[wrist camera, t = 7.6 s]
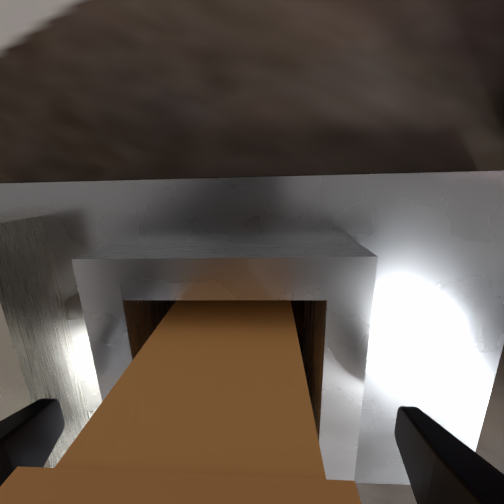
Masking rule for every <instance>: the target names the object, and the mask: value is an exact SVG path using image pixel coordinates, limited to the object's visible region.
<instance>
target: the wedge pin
mask: <svg viewBox="0 0 504 504" xmlns="http://www.w3.org/2000/svg"><path fill="white" fill-rule="evenodd" d="M0 504H361V501H360V498H359V494H358V491H357V488H356V484H355V481H350V480H327V479H326V475H325V470H324V465H323V460H322V455H321V450H320V445H319V440H318V435H317V430H316V425H315V420H314V415H313V410H312V405H311V400H310V395H309V390H308V385H307V380H306V375H305V370H304V365H303V360H302V355H301V350H300V345H299V340H298V335H297V330H296V325H295V320H294V315H293V310H292V305H291V300H176V301H175V303H174V304H173V305H172V307H171V308H170V310H169V311H168V312H167V314H166V315H165V316H164V318H163V319H162V321H161V322H160V323H159V325H158V326H157V327H156V329H155V330H154V332H153V333H152V334H151V336H150V337H149V338H148V340H147V341H146V343H145V344H144V345H143V347H142V348H141V349H140V351H139V352H138V353H137V355H136V356H135V358H134V359H133V360H132V362H131V363H130V364H129V366H128V367H127V369H126V370H125V371H124V373H123V374H122V375H121V377H120V378H119V380H118V381H117V382H116V384H115V385H114V386H113V388H112V389H111V391H110V392H109V393H108V395H107V396H106V397H105V399H104V400H103V402H102V403H101V404H100V406H99V407H98V408H97V410H96V411H95V413H94V414H93V415H92V417H91V418H90V419H89V421H88V422H87V424H86V425H85V426H84V428H83V429H82V430H81V432H80V433H79V435H78V436H77V437H76V439H75V440H74V441H73V443H72V444H71V445H70V447H69V448H68V450H67V451H66V452H65V454H64V455H63V456H62V458H61V459H60V461H59V462H58V463H57V465H56V466H55V467H54V468H42V467H19V466H17V468H16V469H15V470H14V471H13V472H12V473H11V475H10V476H9V477H8V478H7V479H6V480H5V482H4V483H3V484H2V485H1V486H0Z"/></svg>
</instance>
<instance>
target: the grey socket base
mask: <svg viewBox="0 0 504 504" xmlns="http://www.w3.org/2000/svg"><path fill="white" fill-rule="evenodd" d="M176 300H304V321H303V353H302V360H303V365H304V370H305V375H306V380H307V385H308V390H309V395H310V400H311V405H312V410H313V415H314V420H315V425H316V430H317V435H318V440H319V445H320V450H321V455H322V460H323V465H324V470H325V475H326V479H327V480H350V481H355V483H379V484H406V485H411V484H410V481H409V478H408V475H407V473H406V470H405V467H404V464H403V461H402V458H401V455H400V452H399V449H398V446H397V444H396V440H395V435H394V429H395V423H396V416H397V410H398V408H399V407H400V406H415V407H417V408H419V409H421V410H422V411H423V412H424V413H426V414H427V415H428V416H430V417H431V418H432V419H433V420H435V421H436V422H437V423H438V424H440V425H441V426H442V427H444V428H445V429H446V430H447V431H449V432H450V433H451V434H453V435H454V436H455V437H456V438H458V439H459V440H460V441H462V442H463V443H464V444H465V445H467V446H468V447H469V448H470V449H472V450H473V451H474V452H475V451H476V447H477V443H478V439H479V436H480V432H481V428H482V424H483V420H484V417H485V413H486V409H487V405H488V401H489V398H490V394H491V390H492V386H493V383H494V379H495V375H496V371H497V367H498V364H499V360H500V356H501V352H502V348H503V345H504V171H474V172H434V173H395V174H355V175H316V176H276V177H236V178H197V179H157V180H118V181H78V182H39V183H0V421H1V420H3V419H5V418H6V417H8V416H10V415H12V414H14V413H15V412H17V411H19V410H21V409H22V408H24V407H26V406H28V405H30V404H31V403H33V402H35V401H37V400H39V399H41V398H56V399H58V400H59V402H60V405H61V409H62V413H63V417H64V421H65V425H64V429H63V432H62V434H61V436H60V438H59V439H58V441H57V443H56V445H55V447H54V449H53V450H52V452H51V454H50V456H49V458H48V460H47V461H46V463H45V465H44V467H43V468H54V467H55V466H56V465H57V463H58V462H59V461H60V459H61V458H62V456H63V455H64V454H65V452H66V451H67V450H68V448H69V447H70V445H71V444H72V443H73V441H74V440H75V439H76V437H77V436H78V435H79V433H80V432H81V430H82V429H83V428H84V426H85V425H86V424H87V422H88V421H89V419H90V418H91V417H92V415H93V414H94V413H95V411H96V410H97V408H98V407H99V406H100V404H101V403H102V402H103V400H104V399H105V397H106V396H107V395H108V393H109V392H110V391H111V389H112V388H113V386H114V385H115V384H116V382H117V381H118V380H119V378H120V377H121V375H122V374H123V373H124V371H125V370H126V369H127V367H128V366H129V364H130V363H131V362H132V360H133V359H134V358H135V356H136V355H137V353H138V352H139V351H140V349H141V348H142V347H143V345H144V344H145V343H146V341H147V340H148V338H149V337H150V336H151V334H152V333H153V332H154V330H155V329H156V327H157V326H158V325H159V323H160V322H161V321H162V319H163V318H164V316H165V315H166V314H167V312H168V311H169V310H170V308H171V307H172V305H173V304H174V303H175V301H176Z"/></svg>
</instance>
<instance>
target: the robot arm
mask: <svg viewBox="0 0 504 504" xmlns="http://www.w3.org/2000/svg"><path fill="white" fill-rule="evenodd" d="M64 425H65V421H64V417H63V413H62V409H61V405H60V402H59V400H58V399H56V398H41V399H39V400H37V401H35V402H33V403H31V404H30V405H28V406H26V407H24V408H22V409H21V410H19V411H17V412H15V413H14V414H12V415H10V416H8V417H6V418H5V419H3V420H1V421H0V486H1V485H2V484H3V483H4V482H5V480H6V479H7V478H8V477H9V476H10V475H11V473H12V472H13V471H14V470H15V469H16V468H17V466H19V467H42V468H43V467H44V465H45V463H46V461H47V460H48V458H49V456H50V454H51V452H52V450H53V449H54V447H55V445H56V443H57V441H58V439H59V438H60V436H61V434H62V432H63V429H64ZM394 435H395V440H396V444H397V446H398V449H399V452H400V455H401V458H402V461H403V464H404V467H405V470H406V473H407V475H408V478H409V481H410V484H411V487H412V490H413V493H414V496H415V499H416V502H417V504H504V474H503V473H501V472H500V471H499V470H497V469H496V468H495V467H494V466H492V465H491V464H490V463H488V462H487V461H486V460H485V459H483V458H482V457H481V456H479V455H478V454H477V453H476V452H474V451H473V450H472V449H470V448H469V447H468V446H467V445H465V444H464V443H463V442H462V441H460V440H459V439H458V438H456V437H455V436H454V435H453V434H451V433H450V432H449V431H447V430H446V429H445V428H444V427H442V426H441V425H440V424H438V423H437V422H436V421H435V420H433V419H432V418H431V417H430V416H428V415H427V414H426V413H424V412H423V411H422V410H421V409H419V408H417V407H415V406H400V407H399V408H398V410H397V416H396V423H395V429H394Z"/></svg>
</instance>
